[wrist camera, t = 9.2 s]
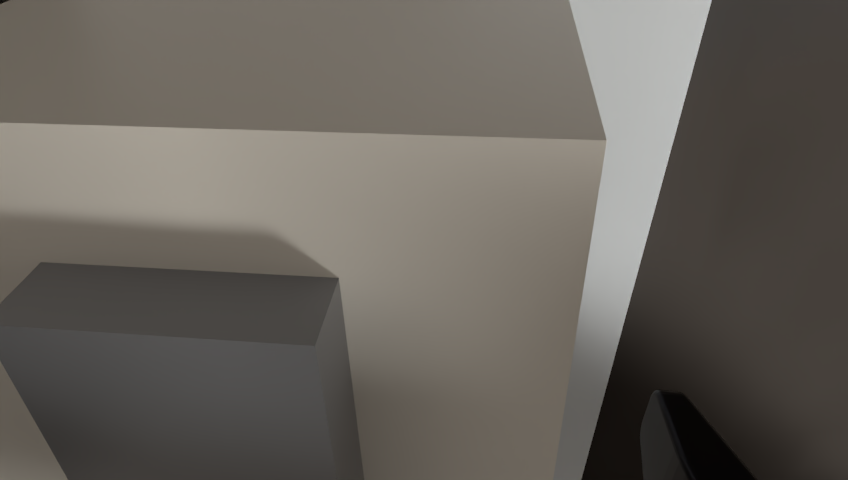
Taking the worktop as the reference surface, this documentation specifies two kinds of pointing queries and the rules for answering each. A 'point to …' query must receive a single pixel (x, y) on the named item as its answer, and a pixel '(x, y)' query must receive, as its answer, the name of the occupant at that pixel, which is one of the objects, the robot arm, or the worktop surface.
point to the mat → (623, 179)
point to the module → (291, 237)
